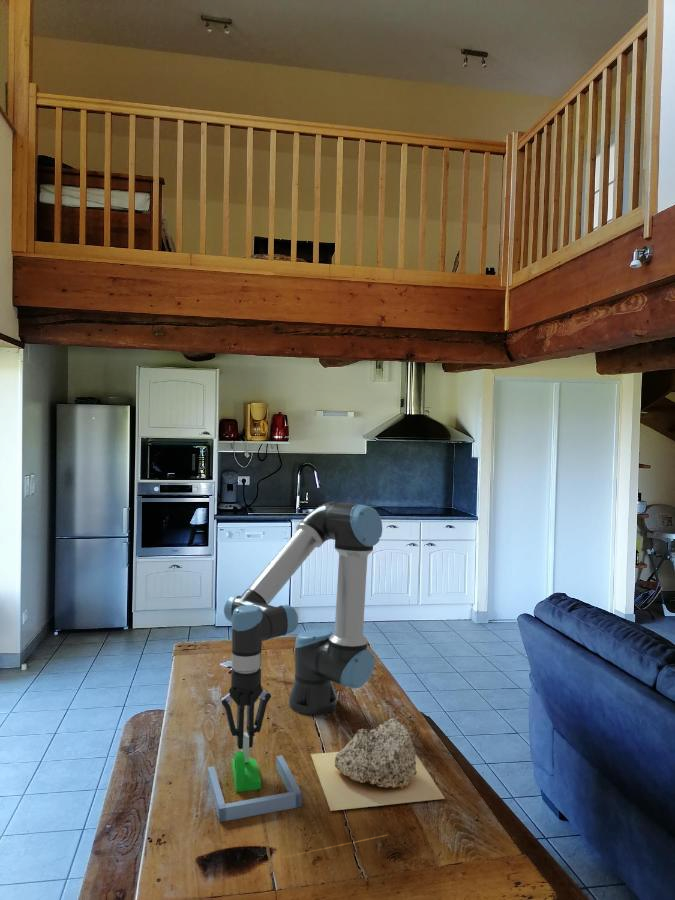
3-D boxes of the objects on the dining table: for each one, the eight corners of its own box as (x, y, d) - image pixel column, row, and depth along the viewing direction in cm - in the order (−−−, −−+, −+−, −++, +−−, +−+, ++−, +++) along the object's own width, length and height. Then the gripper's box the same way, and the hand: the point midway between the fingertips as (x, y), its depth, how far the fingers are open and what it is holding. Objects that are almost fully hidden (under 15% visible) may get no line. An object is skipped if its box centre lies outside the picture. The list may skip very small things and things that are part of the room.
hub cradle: (282, 766, 162) (282, 755, 162) (301, 806, 145) (302, 793, 145) (207, 779, 156) (207, 767, 156) (219, 822, 139) (219, 808, 139)
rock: (409, 743, 173) (423, 707, 165) (433, 825, 156) (449, 789, 147) (310, 751, 167) (318, 714, 158) (322, 837, 149) (333, 801, 141)
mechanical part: (261, 789, 152) (261, 756, 152) (236, 792, 151) (236, 759, 150) (254, 763, 164) (255, 733, 164) (231, 766, 162) (232, 735, 162)
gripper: (267, 660, 166) (265, 749, 166) (218, 666, 161) (216, 757, 162) (274, 670, 159) (273, 762, 159) (223, 676, 154) (222, 771, 155)
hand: (244, 759), depth 161 cm, fingers closed, pressing on mechanical part
